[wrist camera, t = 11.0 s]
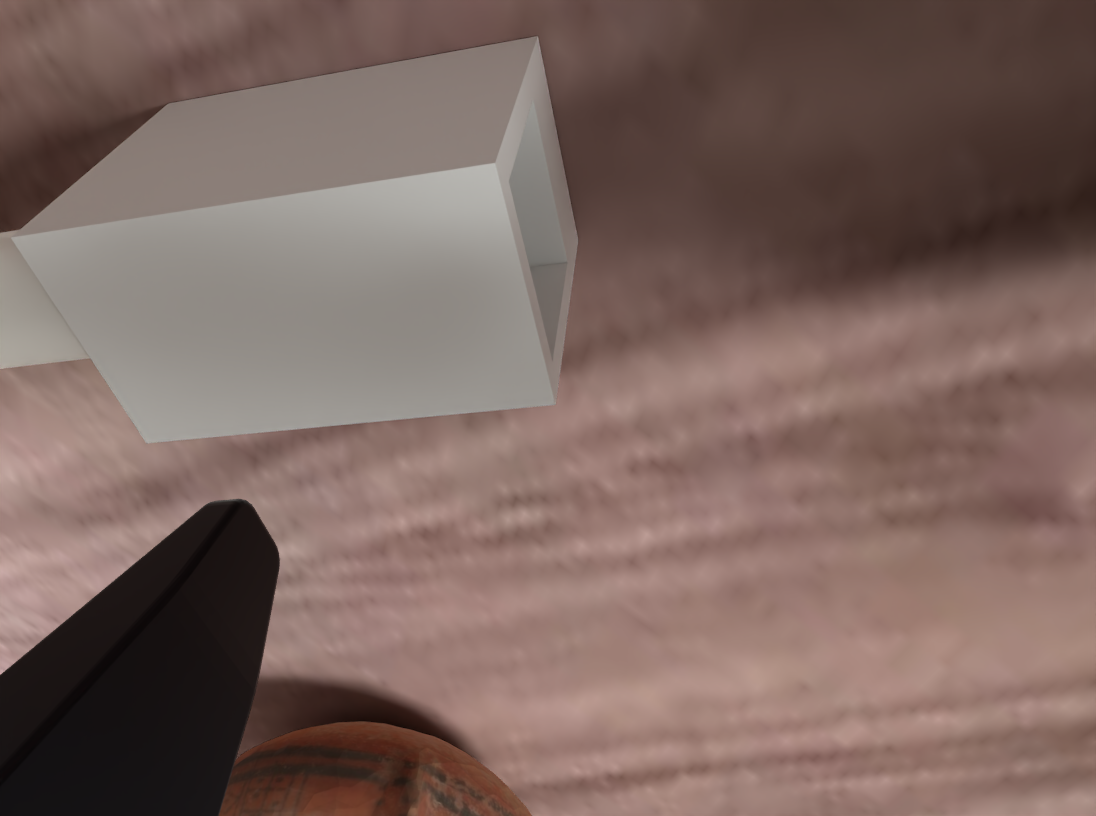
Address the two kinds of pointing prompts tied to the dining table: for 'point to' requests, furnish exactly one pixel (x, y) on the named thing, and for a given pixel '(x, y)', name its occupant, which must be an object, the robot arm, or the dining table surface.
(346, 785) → the bowl
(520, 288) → the outer sleeve
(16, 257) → the multicoloured piece
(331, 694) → the dining table surface
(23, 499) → the dining table surface
